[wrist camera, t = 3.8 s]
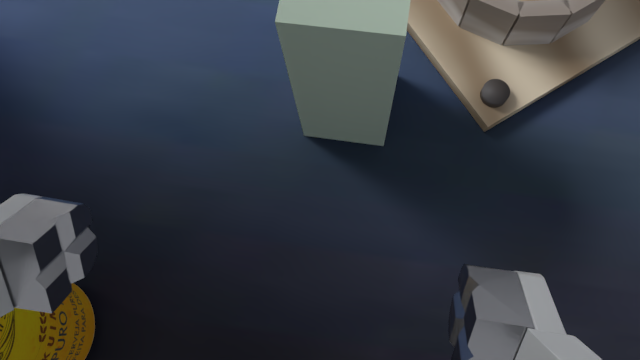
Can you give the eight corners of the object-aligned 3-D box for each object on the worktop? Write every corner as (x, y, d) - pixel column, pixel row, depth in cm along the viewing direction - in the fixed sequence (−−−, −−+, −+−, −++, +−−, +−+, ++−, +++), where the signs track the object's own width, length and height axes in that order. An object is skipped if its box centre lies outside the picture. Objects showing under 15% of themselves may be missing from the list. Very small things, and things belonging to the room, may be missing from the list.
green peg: (383, 146, 29) (405, 36, 18) (304, 135, 30) (274, 21, 18) (393, 73, 30) (420, -73, 19) (316, 64, 31) (297, -84, 19)
